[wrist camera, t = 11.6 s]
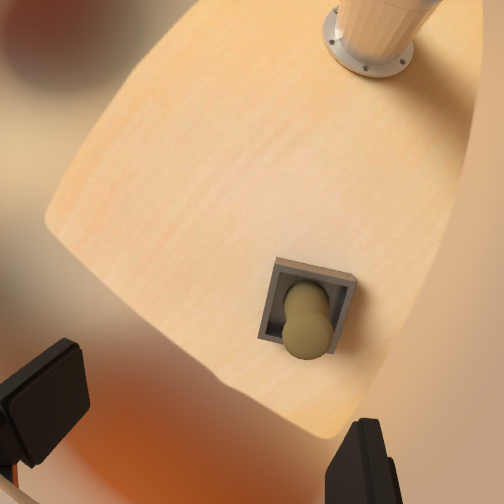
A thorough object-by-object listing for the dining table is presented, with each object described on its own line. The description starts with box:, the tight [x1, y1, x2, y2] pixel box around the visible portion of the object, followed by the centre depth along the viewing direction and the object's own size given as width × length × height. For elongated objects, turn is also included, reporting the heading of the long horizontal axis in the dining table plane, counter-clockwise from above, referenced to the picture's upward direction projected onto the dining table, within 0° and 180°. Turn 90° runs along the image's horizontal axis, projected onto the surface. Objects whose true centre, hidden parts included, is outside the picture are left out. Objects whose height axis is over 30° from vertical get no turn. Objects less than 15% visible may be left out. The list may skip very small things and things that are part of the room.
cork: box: [282, 281, 334, 360], centre depth 34 cm, size 6×6×11 cm
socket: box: [258, 257, 356, 354], centre depth 39 cm, size 10×10×4 cm
